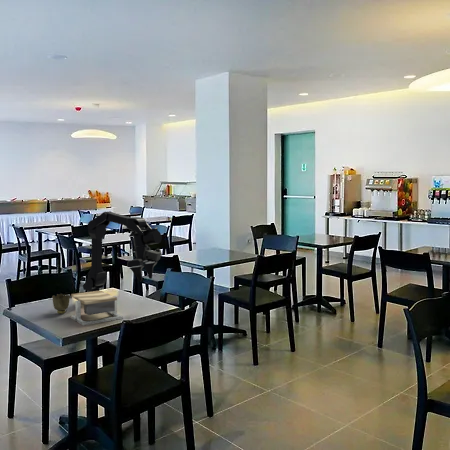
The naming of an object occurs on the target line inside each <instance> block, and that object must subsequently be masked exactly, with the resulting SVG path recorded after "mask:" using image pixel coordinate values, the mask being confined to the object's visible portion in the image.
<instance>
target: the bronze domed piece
mask: <svg viewBox="0 0 450 450" xmlns="http://www.w3.org/2000/svg"><path fill="white" fill-rule="evenodd" d="M51 297H52V298H51V299H52V306H53V307H54V310H56V314H58V315H64V314H66V310H68V308H69V306H70V301H71V296H70V294H69V293H64V294H62V293H60V294H58V293H57V294H56V295H54V294H53V295H52V296H51Z"/></svg>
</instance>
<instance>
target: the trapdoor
mask: <svg viewBox="0 0 450 450" xmlns="http://www.w3.org/2000/svg"><path fill="white" fill-rule="evenodd" d="M114 296H115V295H111V294H109V293H108V292H105V291H104V290H100V291H93V292H77V293H71V294H70V298H73V299H74V300H75V301H81V304H83V313H84V314H85V315H87V316H91V315H98V314H104V313H107V312H112V311H115V300H117V301H118V297H117V298H116V297H114Z"/></svg>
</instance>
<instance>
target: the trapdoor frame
mask: <svg viewBox="0 0 450 450" xmlns="http://www.w3.org/2000/svg"><path fill="white" fill-rule="evenodd" d="M113 296H114V297H116V298H117V300H115V311H112V312H106V313H107V314H109V315H111V317H106V318H104V317H103V318H99V319H92V320H87V321H85V320H83V319H82V314H81V313H82V302H81V301H78V300H75V307H74V308H75V311H74V312H75V314H74V315H71V316H70V318H71V319H72V320H74V321H75V322H77V323H79V324H80V325H81V326H88V325H94V324H98V323H99V324H100V323H105V322H111V320H112V321H117V320H116V319H118V320H122V319H124V316H122V315H121V314H119V313H118V295H113Z"/></svg>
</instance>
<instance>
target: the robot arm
mask: <svg viewBox="0 0 450 450" xmlns="http://www.w3.org/2000/svg"><path fill="white" fill-rule="evenodd" d="M111 222H112V223H115V224H118V225H122V226H125V227H126V229H128V230H130V231H131V233H130V234H129V235H128V236H129V237H130V238H131V237H132V238H133V245H134V248H133V249H132V250H133V251H132V252H135V258H134V259H130V260H127V263H126V266H127V268H129V270H131V271H132V273H133V275H134V276H135V277H136V279H137V280H138V282H139V283H142V282H143V269H145V272H146V274H147V277H148V279H150V280H151V279H153V273H154V267H155V266H156V265H157V264H158V262H159V260H161V257H163V254H162V250H161V249H160V248H156V249H155V250H152V249H151V247H150V246H149V245H155V244H160V243H161V242H162V240H163V238H162V237H163V235H162V234H161V232H160V230H158V227H154V228H153V227H151V226H150V225H149V224H148V222H147V220H146V218H145V217H137V216H136V217H134V216H132V217H131V216H127V215H123V214H119V213H116V212H112V211H103V212H102V213H101V214H99V215H97V216H96V217H94V218H93V219H90V220H89V221H88V223H87V232H88V235H89V237H90V238H91V251H90V252H91V253H90V254H91V260H90V261H91V267H90V269H89V271H88V273H87V280H86V281H85V282H84V283H83V284H82V288H83V290H84V291H87V292H93V291H101V289H103V288H104V286H105V284H106V281H107V280H108V279H107V271H104V269H103V239H104V236H105V234H106V231H107V227H109V225H110V224H111Z"/></svg>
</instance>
